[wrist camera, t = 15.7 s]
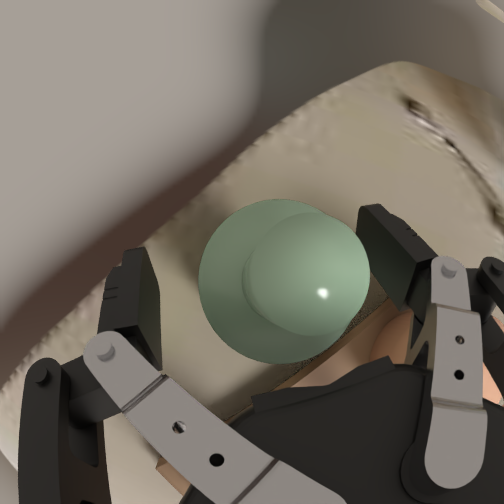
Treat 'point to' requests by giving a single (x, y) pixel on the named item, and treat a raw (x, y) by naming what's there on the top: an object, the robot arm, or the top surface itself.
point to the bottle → (282, 280)
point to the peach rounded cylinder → (395, 346)
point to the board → (319, 369)
